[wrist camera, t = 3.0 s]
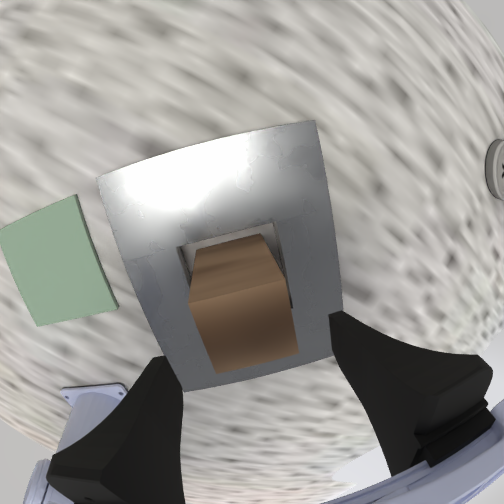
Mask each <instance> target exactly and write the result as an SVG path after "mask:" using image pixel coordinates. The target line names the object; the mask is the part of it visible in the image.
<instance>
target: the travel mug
mask: <svg viewBox="0 0 504 504" xmlns="http://www.w3.org/2000/svg"><path fill="white" fill-rule="evenodd" d="M486 179H487V183H488V186H489V189H490V191H491V193H492V194H493V195H494V196H495V197H496V198H498V199H501V200H504V140H500V139H498V140H496V141H495V142H493V143H492V145H491V146H490V148H489V150H488V154H487V159H486Z"/></svg>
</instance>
